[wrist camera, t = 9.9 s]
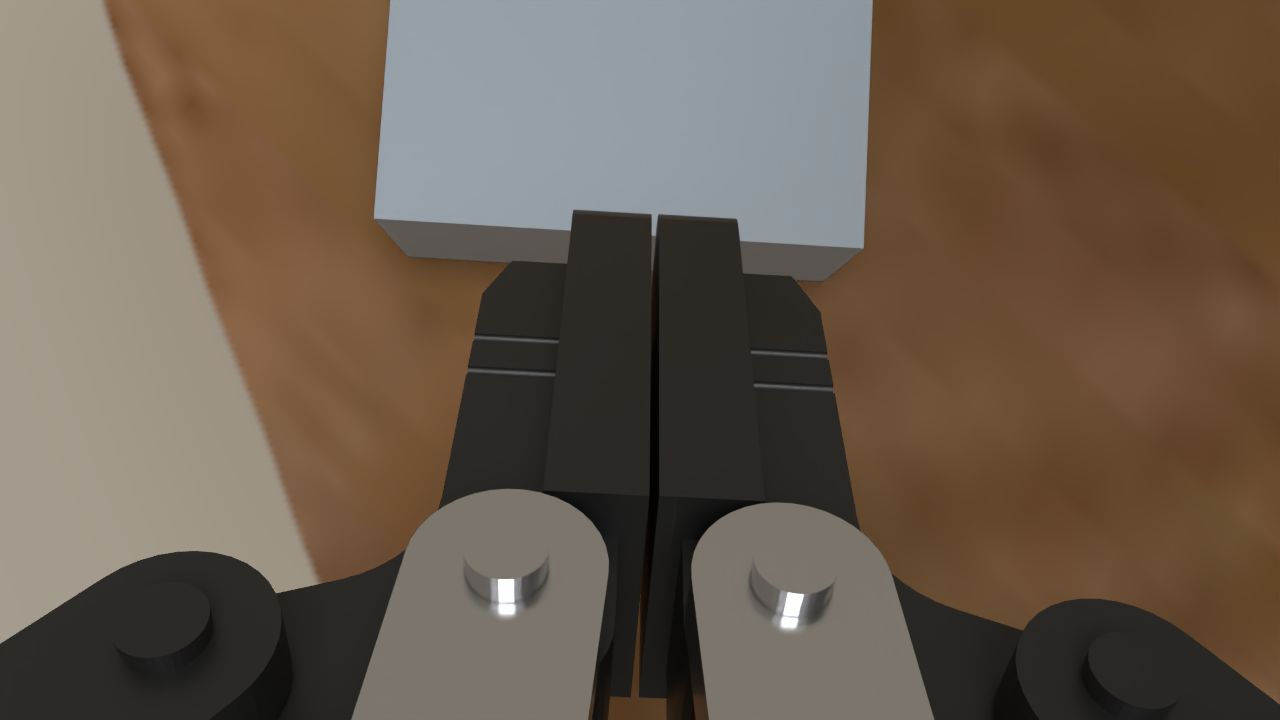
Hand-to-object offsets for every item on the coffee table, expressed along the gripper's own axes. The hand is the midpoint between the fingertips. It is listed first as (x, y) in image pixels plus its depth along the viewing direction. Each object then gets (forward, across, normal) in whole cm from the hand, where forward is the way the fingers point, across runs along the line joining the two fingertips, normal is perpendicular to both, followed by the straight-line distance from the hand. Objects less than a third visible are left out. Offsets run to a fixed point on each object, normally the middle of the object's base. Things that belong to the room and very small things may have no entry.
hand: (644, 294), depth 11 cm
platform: (+28, 0, +11) cm, 30 cm away
